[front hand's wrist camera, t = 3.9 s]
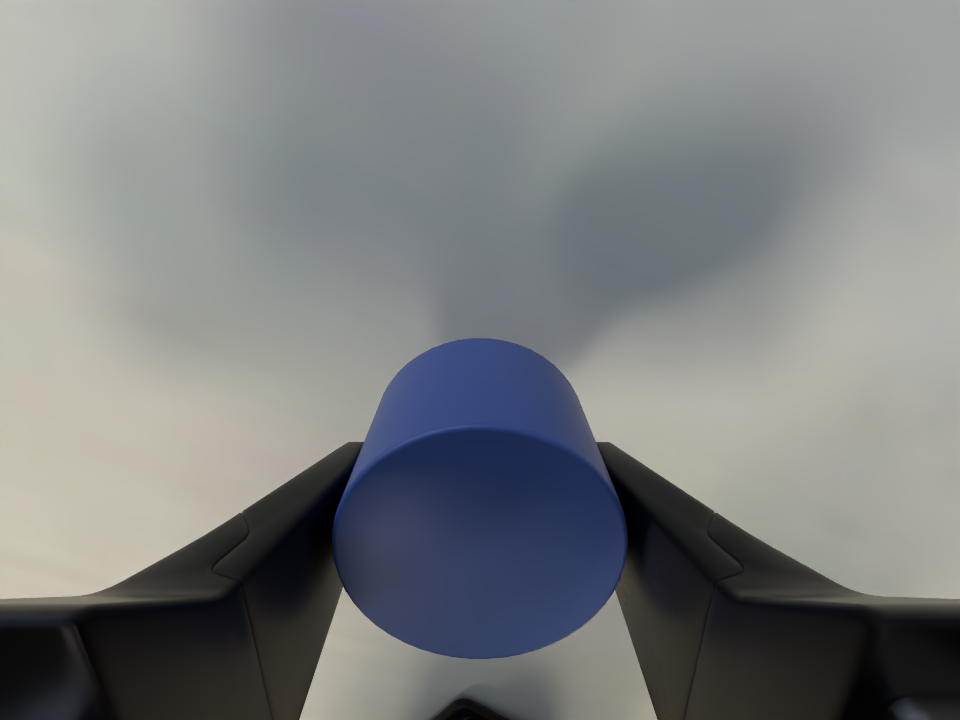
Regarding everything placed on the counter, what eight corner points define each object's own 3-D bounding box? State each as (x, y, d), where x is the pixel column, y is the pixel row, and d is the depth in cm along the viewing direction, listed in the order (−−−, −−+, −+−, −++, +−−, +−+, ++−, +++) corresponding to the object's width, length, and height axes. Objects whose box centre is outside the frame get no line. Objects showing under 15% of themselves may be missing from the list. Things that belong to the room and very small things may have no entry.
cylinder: (581, 513, 13) (622, 655, 10) (389, 522, 14) (354, 666, 10) (586, 330, 12) (638, 417, 8) (362, 343, 12) (305, 434, 8)
